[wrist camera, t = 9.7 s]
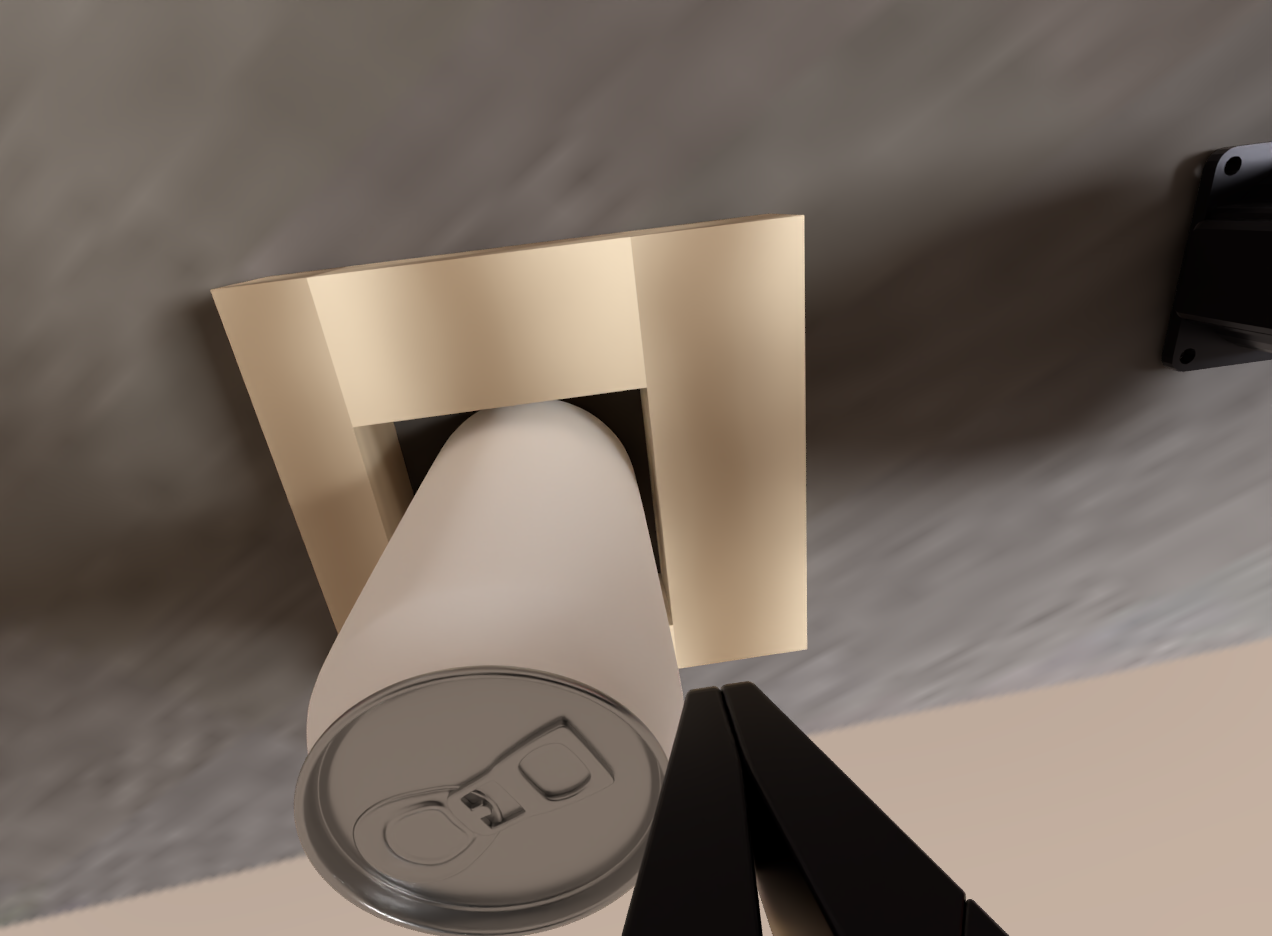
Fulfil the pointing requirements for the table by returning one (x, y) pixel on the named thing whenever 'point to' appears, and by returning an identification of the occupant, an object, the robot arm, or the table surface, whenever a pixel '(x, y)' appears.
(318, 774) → the can
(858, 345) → the table surface
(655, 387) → the frame
